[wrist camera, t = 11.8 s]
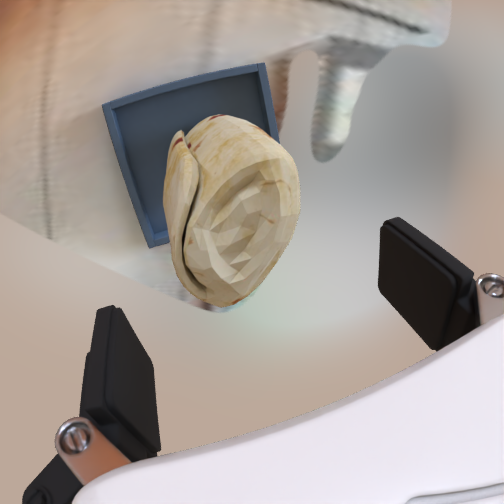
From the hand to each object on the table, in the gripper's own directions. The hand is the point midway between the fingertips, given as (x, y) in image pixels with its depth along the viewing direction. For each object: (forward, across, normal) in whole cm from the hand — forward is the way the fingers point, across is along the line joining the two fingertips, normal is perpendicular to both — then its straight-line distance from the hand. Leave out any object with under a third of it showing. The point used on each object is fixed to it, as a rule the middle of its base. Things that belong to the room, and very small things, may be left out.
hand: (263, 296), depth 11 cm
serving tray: (+25, -1, 0) cm, 25 cm away
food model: (+24, 0, 0) cm, 24 cm away
